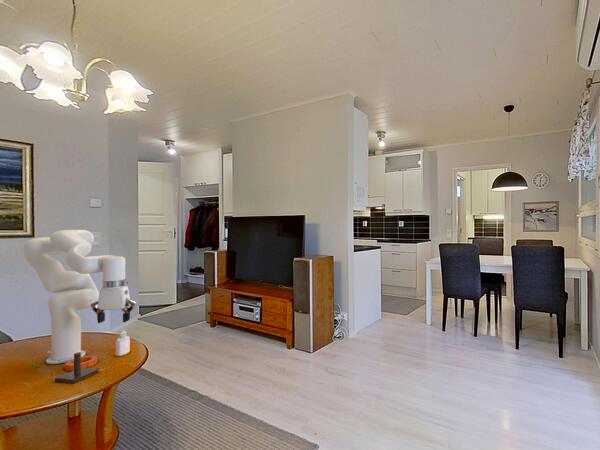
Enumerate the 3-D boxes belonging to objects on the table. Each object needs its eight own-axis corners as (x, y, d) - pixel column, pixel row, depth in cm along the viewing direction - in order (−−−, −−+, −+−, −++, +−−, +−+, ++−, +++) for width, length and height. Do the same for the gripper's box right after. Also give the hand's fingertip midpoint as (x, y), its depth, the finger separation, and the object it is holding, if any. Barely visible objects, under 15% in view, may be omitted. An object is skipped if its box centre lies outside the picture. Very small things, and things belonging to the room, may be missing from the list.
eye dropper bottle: (131, 352, 151) (132, 328, 151) (116, 357, 146) (117, 332, 146) (128, 350, 153) (128, 327, 153) (113, 355, 148) (113, 330, 148)
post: (54, 381, 123) (54, 357, 123) (80, 371, 132) (80, 348, 132) (73, 383, 122) (74, 358, 122) (98, 372, 131) (98, 349, 131)
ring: (58, 370, 133) (58, 364, 133) (84, 359, 143) (84, 354, 143) (78, 371, 132) (78, 366, 132) (103, 361, 142) (103, 356, 142)
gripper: (141, 281, 143) (141, 318, 143) (98, 282, 139) (97, 319, 140) (130, 285, 135) (130, 323, 135) (84, 286, 132) (84, 325, 132)
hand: (113, 321), depth 138 cm, fingers open, 9 cm apart
